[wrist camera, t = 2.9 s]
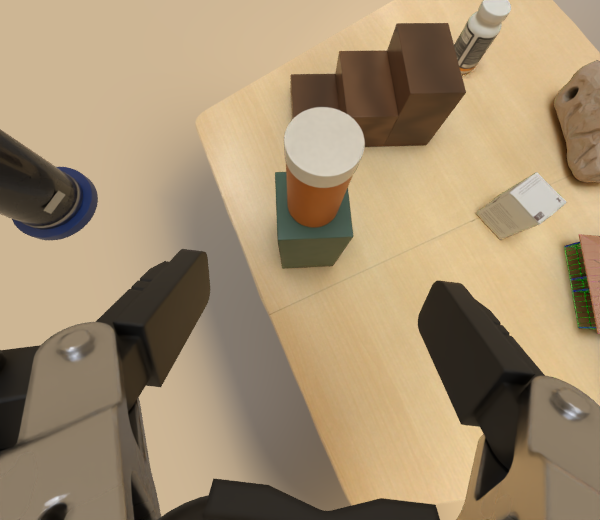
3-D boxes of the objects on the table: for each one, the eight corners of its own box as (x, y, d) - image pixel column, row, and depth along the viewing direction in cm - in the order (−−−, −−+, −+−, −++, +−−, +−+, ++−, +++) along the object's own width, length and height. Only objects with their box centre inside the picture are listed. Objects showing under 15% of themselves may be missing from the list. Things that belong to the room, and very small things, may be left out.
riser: (294, 148, 46) (295, 95, 35) (290, 89, 49) (290, 23, 39) (426, 145, 47) (466, 92, 37) (414, 87, 50) (448, 22, 40)
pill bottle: (477, 59, 53) (518, 0, 43) (468, 79, 51) (509, 22, 42) (450, 48, 53) (486, -13, 43) (441, 68, 52) (475, 9, 42)
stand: (282, 268, 41) (277, 240, 27) (280, 220, 43) (275, 172, 29) (332, 266, 41) (353, 236, 28) (328, 218, 43) (345, 169, 29)
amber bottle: (287, 229, 28) (285, 177, 18) (285, 180, 29) (282, 107, 19) (342, 227, 28) (369, 175, 18) (337, 178, 29) (360, 105, 19)
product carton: (498, 194, 45) (537, 170, 38) (524, 221, 44) (569, 201, 37) (473, 213, 44) (509, 192, 37) (500, 241, 43) (541, 224, 36)
